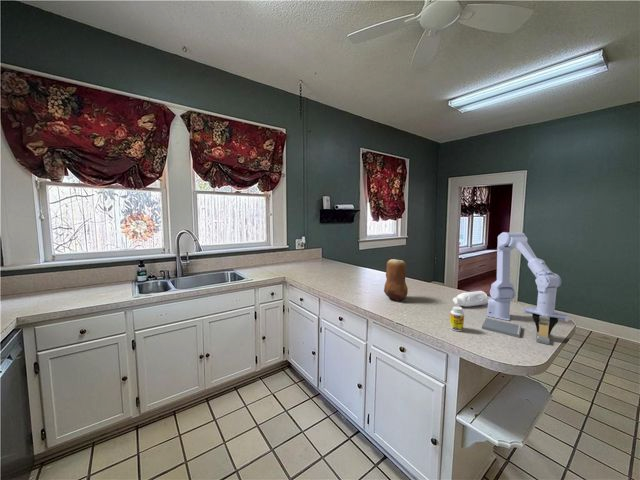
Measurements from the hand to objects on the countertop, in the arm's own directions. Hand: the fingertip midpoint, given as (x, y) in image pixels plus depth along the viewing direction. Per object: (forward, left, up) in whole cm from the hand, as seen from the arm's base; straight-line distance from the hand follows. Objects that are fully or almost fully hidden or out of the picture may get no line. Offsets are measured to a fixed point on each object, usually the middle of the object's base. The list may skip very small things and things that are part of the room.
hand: (543, 332), depth 113 cm
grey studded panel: (-15, 0, -2) cm, 15 cm away
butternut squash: (-70, +7, -3) cm, 70 cm away
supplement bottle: (-31, -14, -3) cm, 34 cm away
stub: (0, 0, -2) cm, 2 cm away
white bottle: (-32, +23, -3) cm, 39 cm away
